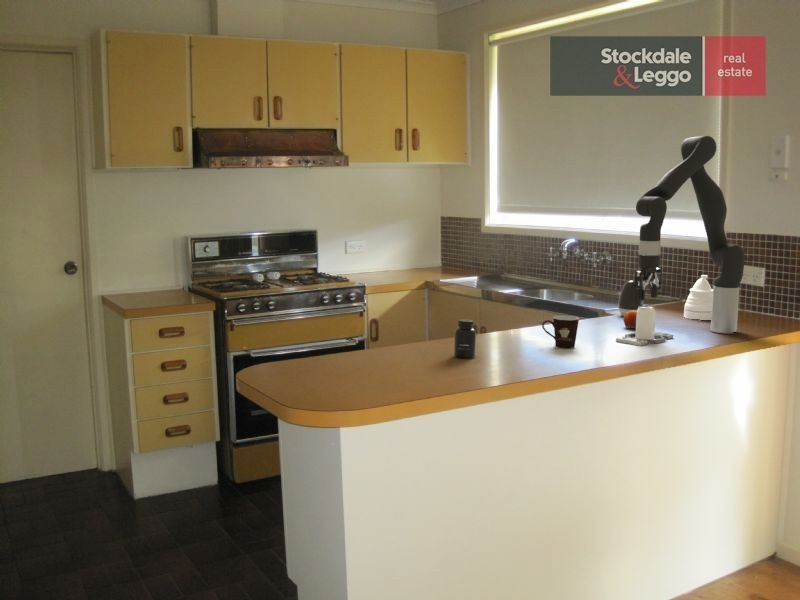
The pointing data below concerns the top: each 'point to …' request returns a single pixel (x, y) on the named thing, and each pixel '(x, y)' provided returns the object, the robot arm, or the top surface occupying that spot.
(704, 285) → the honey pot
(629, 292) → the pump dispenser
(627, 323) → the fruit
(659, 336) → the octagonal ring bracket
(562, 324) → the coffee mug
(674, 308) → the top surface
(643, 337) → the can
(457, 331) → the supplement bottle
